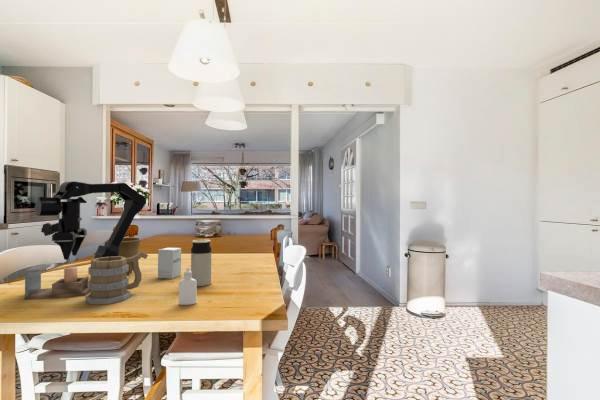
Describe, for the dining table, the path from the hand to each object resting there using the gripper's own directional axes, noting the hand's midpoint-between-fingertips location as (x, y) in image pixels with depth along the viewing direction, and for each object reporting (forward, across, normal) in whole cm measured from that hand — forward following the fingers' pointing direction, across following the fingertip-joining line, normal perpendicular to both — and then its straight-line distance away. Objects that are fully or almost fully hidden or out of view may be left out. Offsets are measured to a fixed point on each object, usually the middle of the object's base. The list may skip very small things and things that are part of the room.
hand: (70, 257), depth 124 cm
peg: (+12, +1, 0) cm, 12 cm away
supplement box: (+13, -16, +34) cm, 40 cm away
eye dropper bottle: (+13, +27, +41) cm, 51 cm away
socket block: (+13, +1, -3) cm, 13 cm away
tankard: (+13, +11, +18) cm, 25 cm away
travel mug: (+13, +2, +46) cm, 48 cm away
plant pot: (+13, -29, +13) cm, 34 cm away
